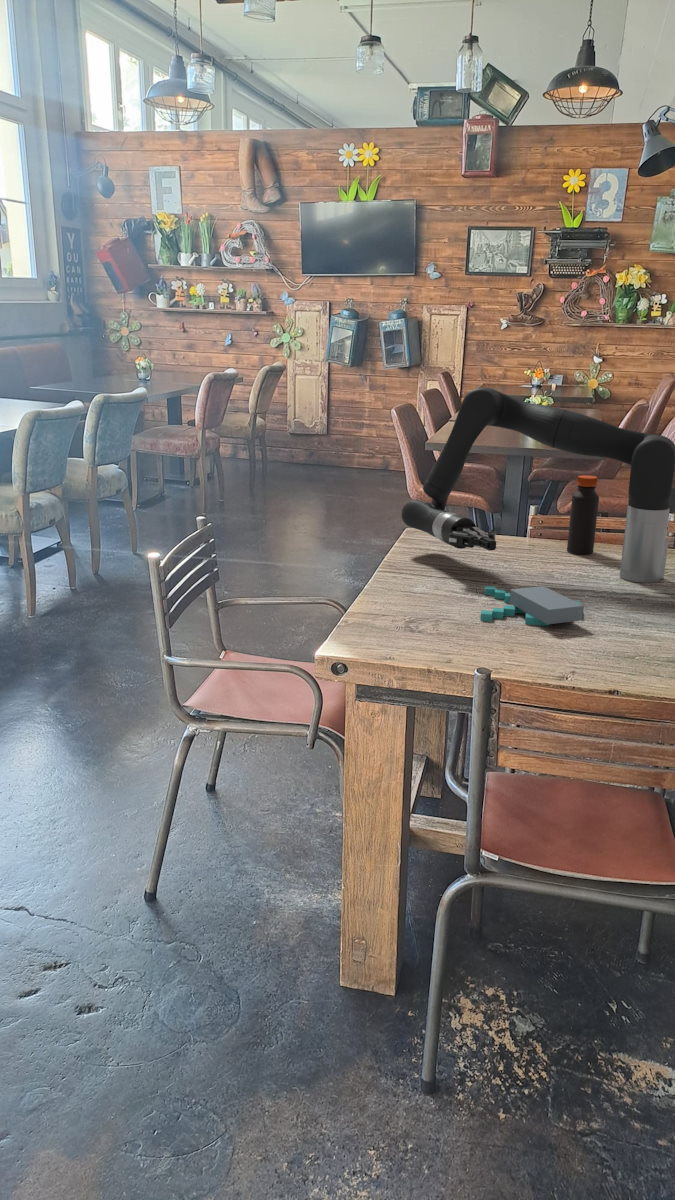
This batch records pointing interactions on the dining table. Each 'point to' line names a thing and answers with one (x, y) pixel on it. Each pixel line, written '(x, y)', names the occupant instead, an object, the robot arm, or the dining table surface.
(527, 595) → the board
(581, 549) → the bottle
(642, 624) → the dining table surface
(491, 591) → the alien figure
